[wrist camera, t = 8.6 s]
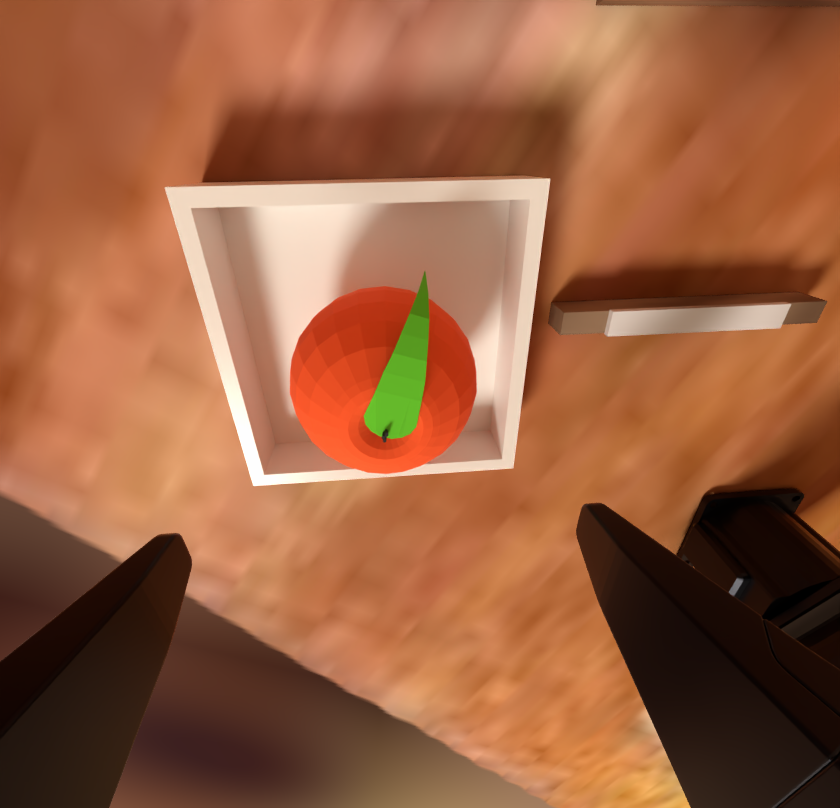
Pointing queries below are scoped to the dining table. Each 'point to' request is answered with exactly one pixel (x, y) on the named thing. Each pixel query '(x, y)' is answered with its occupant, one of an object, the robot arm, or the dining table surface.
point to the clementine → (383, 379)
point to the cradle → (690, 310)
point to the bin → (355, 269)
